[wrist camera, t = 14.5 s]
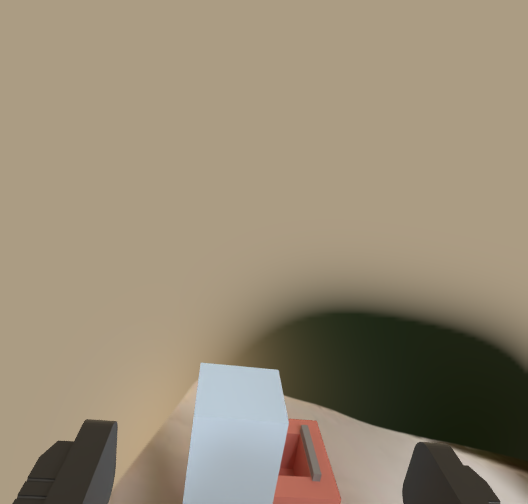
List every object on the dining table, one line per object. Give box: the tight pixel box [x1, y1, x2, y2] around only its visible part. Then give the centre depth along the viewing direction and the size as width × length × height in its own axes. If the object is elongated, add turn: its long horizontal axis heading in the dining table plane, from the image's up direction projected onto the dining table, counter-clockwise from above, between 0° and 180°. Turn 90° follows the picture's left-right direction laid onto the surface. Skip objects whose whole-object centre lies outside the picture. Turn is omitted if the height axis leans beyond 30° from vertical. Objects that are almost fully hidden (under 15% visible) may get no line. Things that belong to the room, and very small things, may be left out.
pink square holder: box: [273, 419, 341, 504], centre depth 40 cm, size 10×10×6 cm
